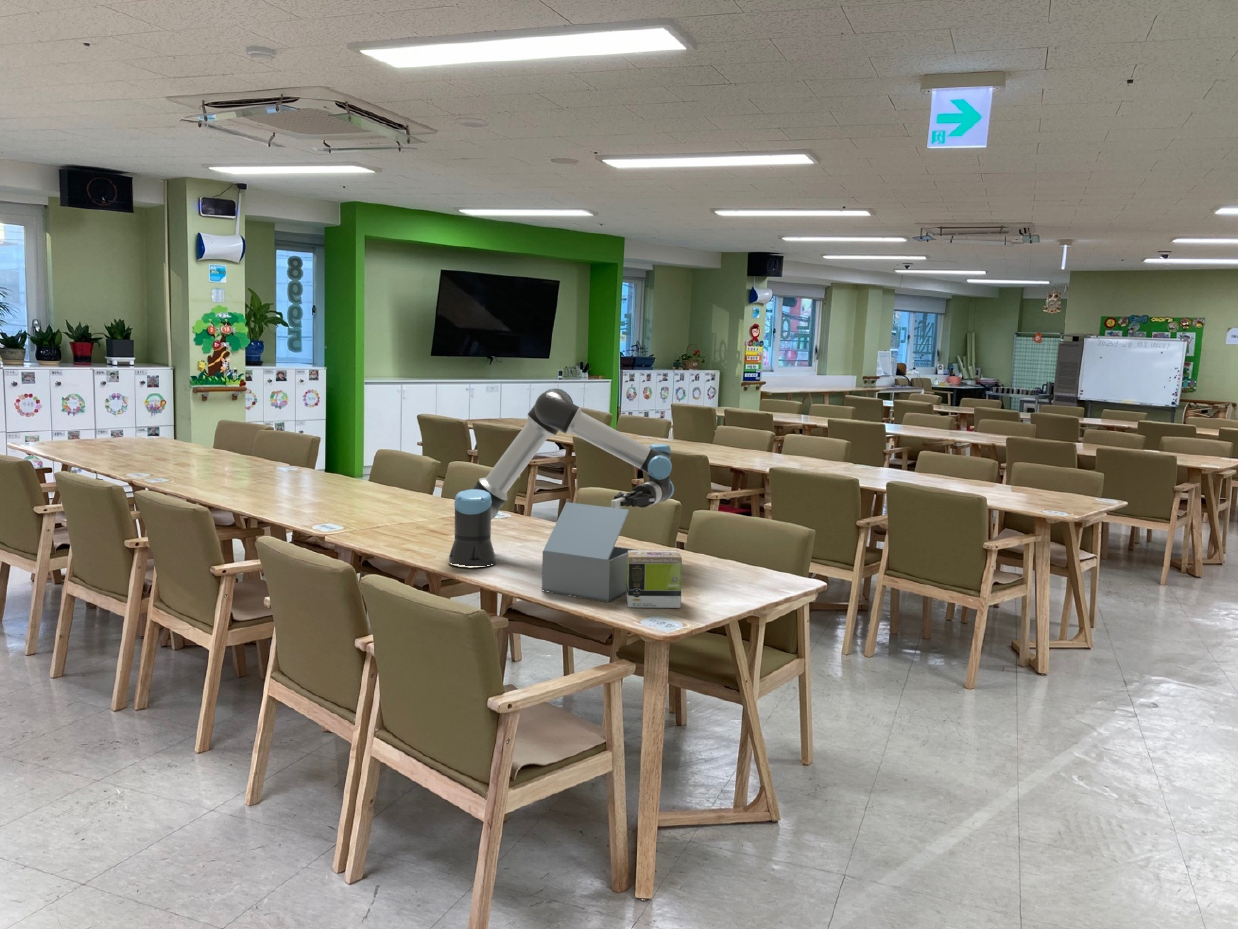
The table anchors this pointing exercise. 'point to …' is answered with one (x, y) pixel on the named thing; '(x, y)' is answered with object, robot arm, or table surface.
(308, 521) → the table surface
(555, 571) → the storage box
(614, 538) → the lid
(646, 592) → the tea box
